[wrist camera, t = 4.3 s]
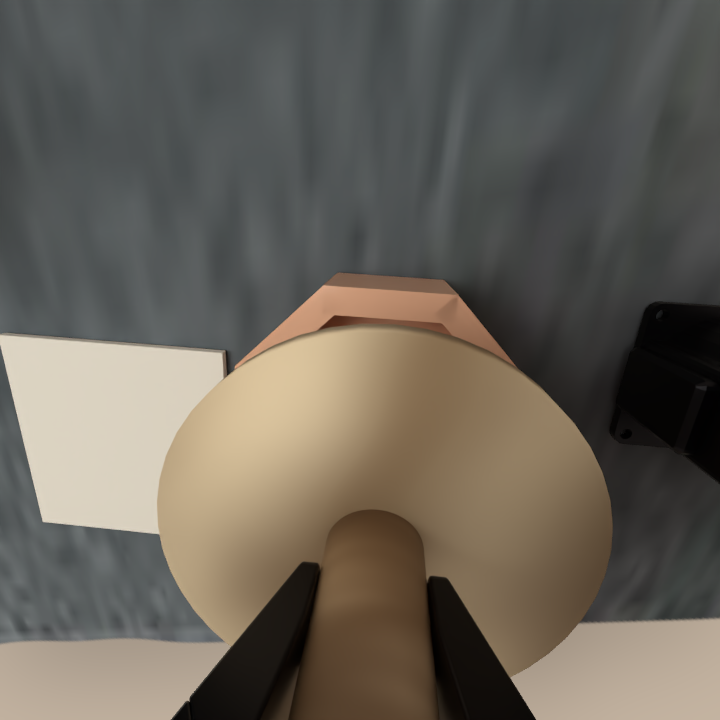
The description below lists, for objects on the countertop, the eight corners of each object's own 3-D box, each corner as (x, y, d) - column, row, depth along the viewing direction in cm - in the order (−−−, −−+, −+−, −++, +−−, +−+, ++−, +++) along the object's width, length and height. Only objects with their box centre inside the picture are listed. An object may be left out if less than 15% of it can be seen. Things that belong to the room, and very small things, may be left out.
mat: (225, 350, 19) (222, 352, 19) (235, 536, 22) (232, 541, 22) (5, 332, 20) (-2, 334, 19) (48, 516, 23) (42, 521, 23)
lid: (652, 344, 8) (1128, 561, 3) (544, 693, 12) (671, 1087, 7) (152, 305, 9) (-213, 425, 4) (189, 648, 13) (33, 972, 7)
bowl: (519, 284, 17) (556, 301, 13) (479, 500, 21) (499, 562, 17) (265, 267, 18) (230, 278, 14) (268, 479, 21) (241, 535, 17)
